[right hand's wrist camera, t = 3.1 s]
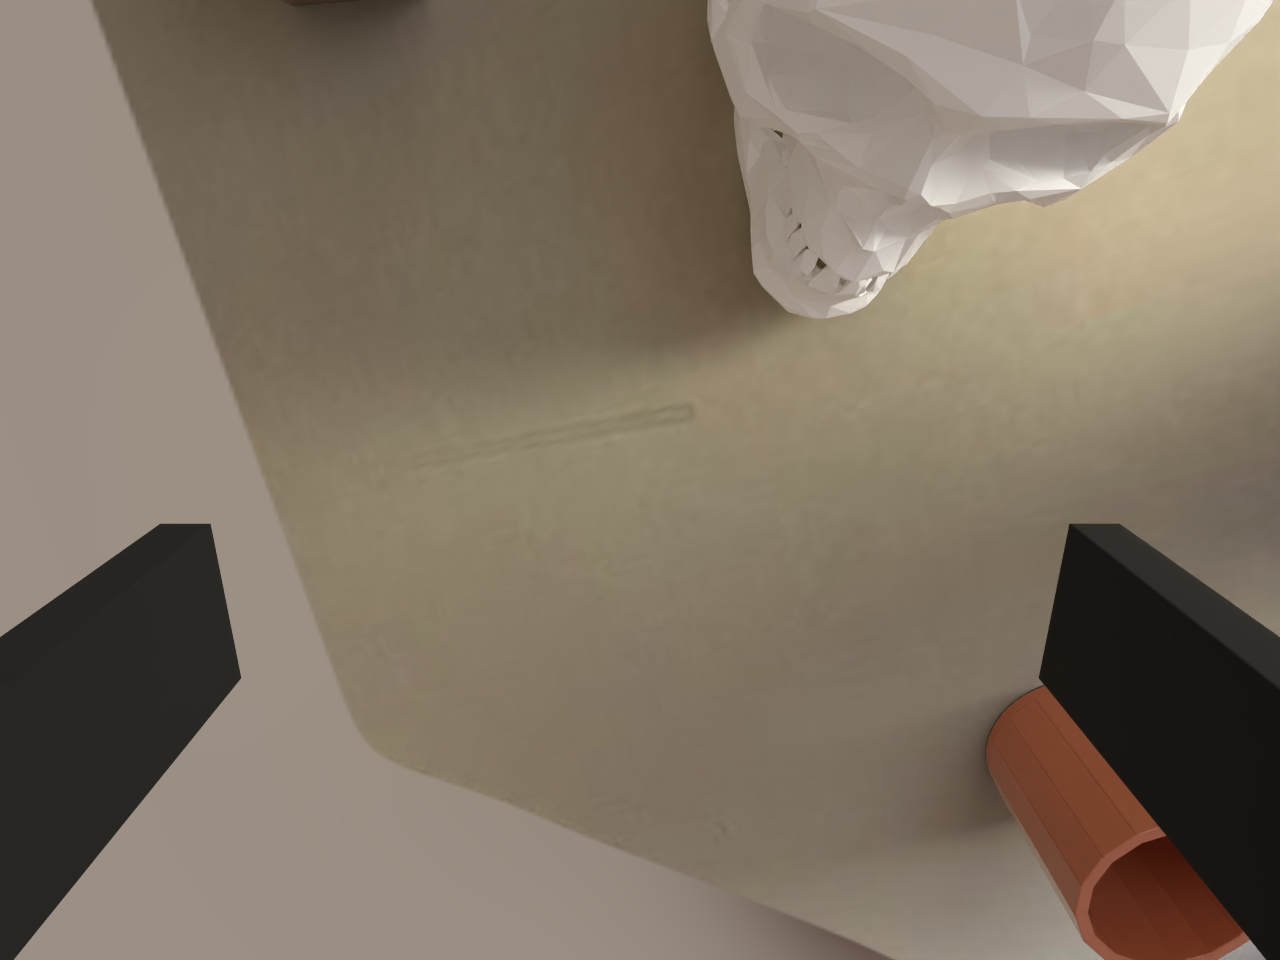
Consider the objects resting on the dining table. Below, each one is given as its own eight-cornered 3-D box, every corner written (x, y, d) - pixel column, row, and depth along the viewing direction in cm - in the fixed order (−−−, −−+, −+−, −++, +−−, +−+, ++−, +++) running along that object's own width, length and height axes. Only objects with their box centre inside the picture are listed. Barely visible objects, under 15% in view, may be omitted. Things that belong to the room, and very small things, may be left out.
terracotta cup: (1035, 659, 37) (1147, 797, 29) (1173, 709, 38) (1322, 858, 30) (957, 779, 40) (1039, 940, 31) (1088, 825, 40) (1203, 993, 32)
